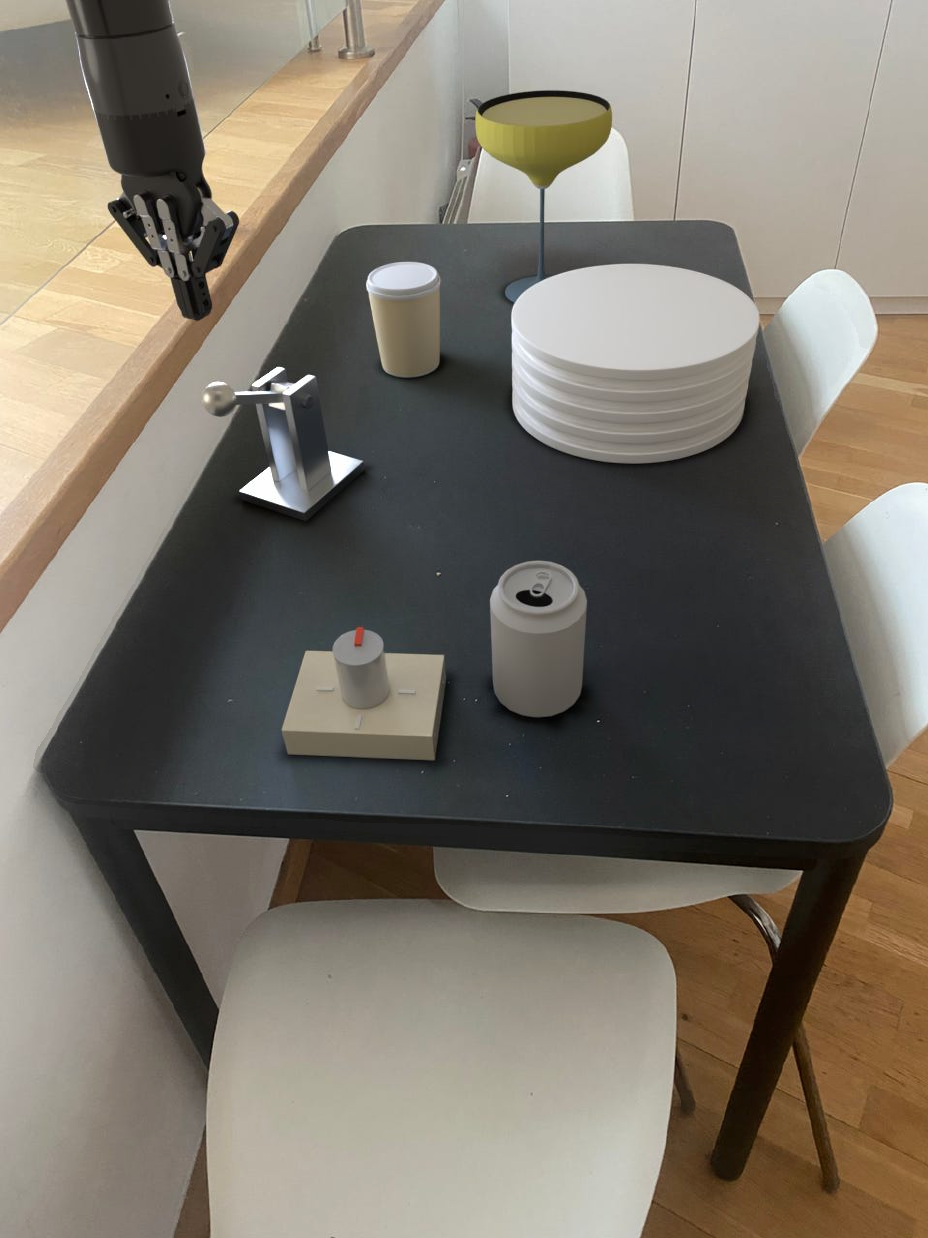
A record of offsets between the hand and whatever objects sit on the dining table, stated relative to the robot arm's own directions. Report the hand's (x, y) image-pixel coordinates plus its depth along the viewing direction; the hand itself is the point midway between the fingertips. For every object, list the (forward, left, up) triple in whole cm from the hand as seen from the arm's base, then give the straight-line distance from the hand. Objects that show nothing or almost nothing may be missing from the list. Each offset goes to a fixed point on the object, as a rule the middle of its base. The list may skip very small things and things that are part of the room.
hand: (198, 315), depth 81 cm
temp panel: (+4, -30, -24) cm, 39 cm away
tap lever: (+3, +2, -12) cm, 12 cm away
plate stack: (+48, +7, -24) cm, 54 cm away
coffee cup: (+27, +28, -24) cm, 45 cm away
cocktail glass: (+52, +41, -24) cm, 70 cm away
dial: (+4, -30, -20) cm, 37 cm away
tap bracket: (+7, +6, -24) cm, 25 cm away
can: (+18, -33, -24) cm, 45 cm away
